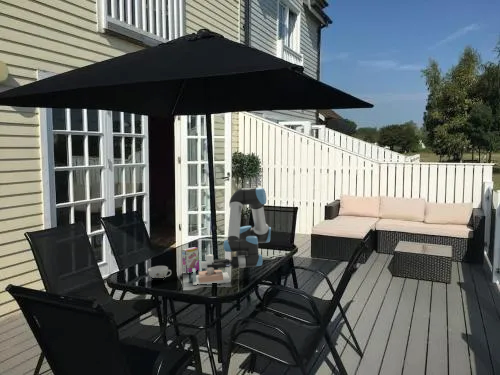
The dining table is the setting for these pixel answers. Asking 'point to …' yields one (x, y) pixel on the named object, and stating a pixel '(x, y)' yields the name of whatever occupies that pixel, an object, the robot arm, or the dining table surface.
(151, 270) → the teacup
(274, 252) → the dining table surface
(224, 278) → the charging dock
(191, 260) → the candy bar box
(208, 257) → the peg
